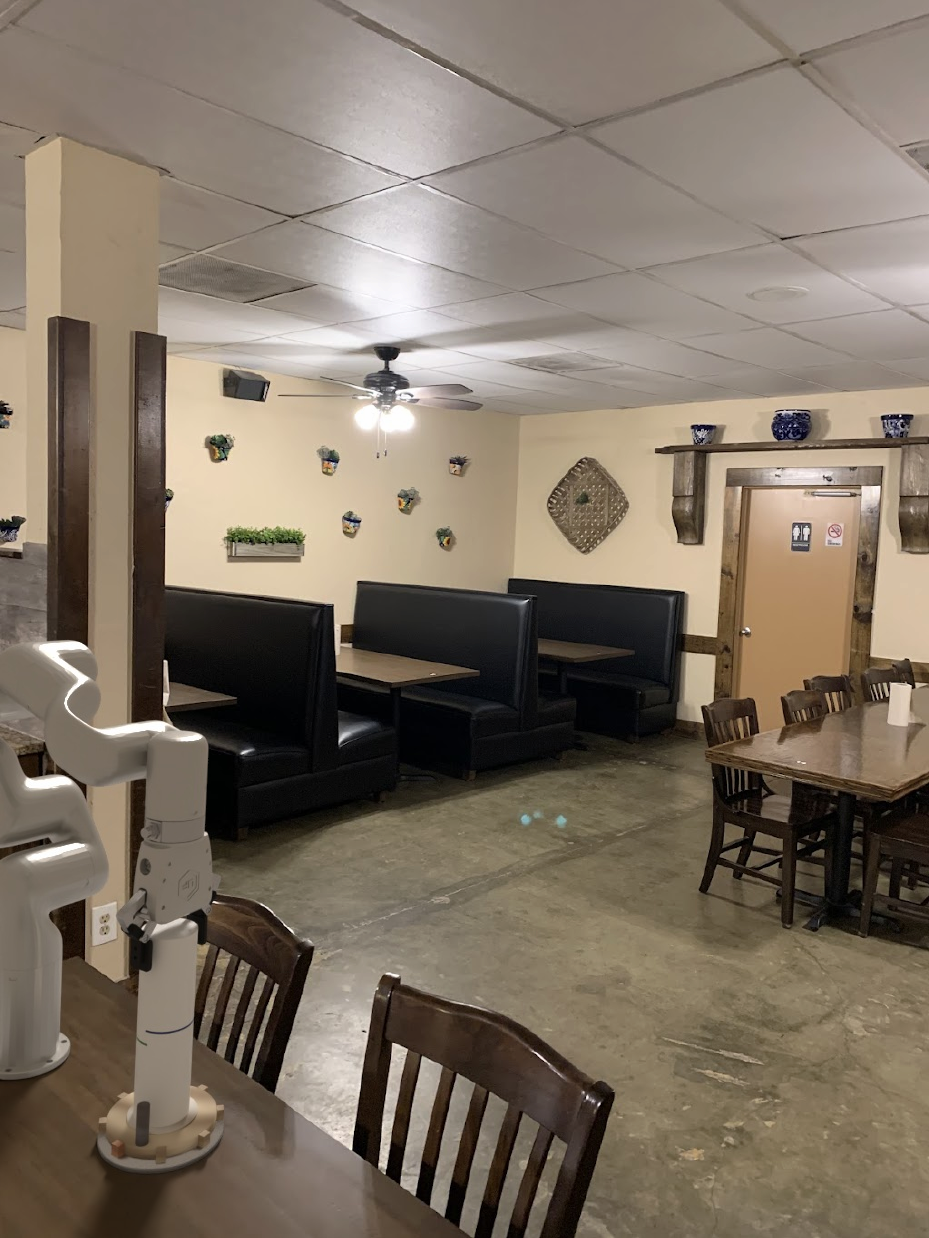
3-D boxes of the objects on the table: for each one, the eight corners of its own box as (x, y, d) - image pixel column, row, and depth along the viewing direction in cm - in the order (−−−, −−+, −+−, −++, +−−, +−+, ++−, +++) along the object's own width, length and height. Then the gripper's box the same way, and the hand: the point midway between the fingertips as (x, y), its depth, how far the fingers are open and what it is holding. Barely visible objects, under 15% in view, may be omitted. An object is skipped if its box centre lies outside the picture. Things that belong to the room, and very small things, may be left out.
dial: (133, 1085, 134) (134, 1041, 133) (236, 1098, 132) (238, 1054, 132) (79, 1152, 119) (81, 1103, 118) (194, 1168, 117) (197, 1118, 117)
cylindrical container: (172, 1131, 121) (181, 943, 119) (122, 1121, 123) (130, 934, 121) (198, 1100, 128) (207, 922, 126) (151, 1090, 130) (159, 914, 128)
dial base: (70, 1144, 122) (70, 1137, 122) (162, 1085, 136) (162, 1079, 136) (160, 1190, 115) (161, 1182, 115) (248, 1123, 129) (248, 1116, 129)
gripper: (144, 850, 113) (139, 988, 114) (242, 818, 128) (236, 939, 130) (100, 837, 116) (95, 971, 118) (200, 807, 132) (195, 926, 133)
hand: (169, 954), depth 124 cm, fingers open, 9 cm apart
